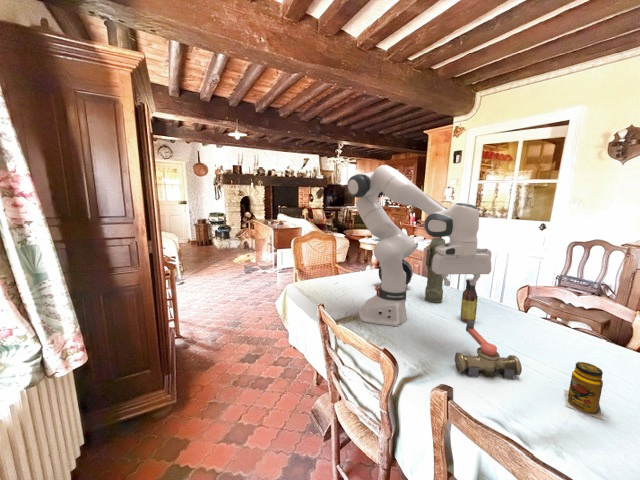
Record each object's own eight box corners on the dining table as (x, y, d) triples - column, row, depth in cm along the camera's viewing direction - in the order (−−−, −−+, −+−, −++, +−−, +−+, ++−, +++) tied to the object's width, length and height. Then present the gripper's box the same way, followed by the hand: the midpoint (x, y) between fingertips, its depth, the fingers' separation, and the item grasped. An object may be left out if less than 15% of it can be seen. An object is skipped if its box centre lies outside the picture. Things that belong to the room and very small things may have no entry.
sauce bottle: (477, 324, 121) (482, 282, 118) (462, 322, 123) (466, 281, 119) (472, 317, 128) (476, 278, 124) (458, 316, 129) (462, 277, 126)
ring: (413, 291, 162) (415, 259, 159) (380, 291, 162) (381, 259, 159) (407, 285, 173) (409, 255, 169) (376, 285, 173) (377, 255, 170)
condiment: (565, 406, 74) (572, 367, 72) (564, 390, 81) (570, 353, 79) (603, 420, 70) (612, 379, 68) (598, 402, 76) (606, 363, 74)
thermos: (448, 302, 146) (453, 239, 140) (430, 304, 142) (435, 240, 137) (436, 296, 154) (441, 236, 148) (419, 298, 151) (423, 237, 145)
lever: (484, 355, 85) (486, 343, 85) (462, 329, 102) (463, 319, 101) (499, 356, 85) (500, 344, 84) (474, 330, 101) (475, 320, 101)
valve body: (461, 376, 86) (464, 356, 85) (453, 364, 93) (455, 345, 91) (520, 380, 85) (523, 360, 84) (508, 367, 91) (511, 348, 90)
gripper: (486, 246, 99) (483, 282, 102) (431, 247, 100) (429, 282, 102) (497, 250, 93) (493, 288, 95) (438, 250, 93) (435, 288, 96)
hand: (459, 285), depth 99 cm, fingers open, 8 cm apart
